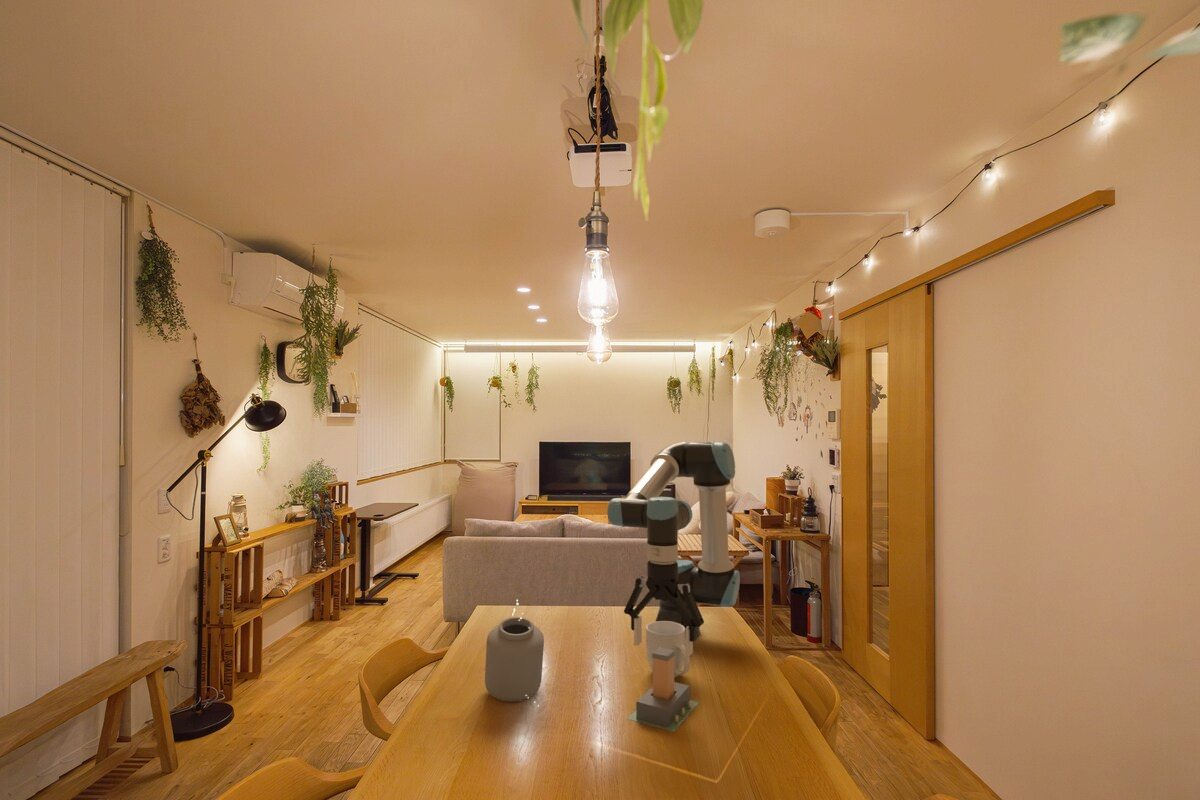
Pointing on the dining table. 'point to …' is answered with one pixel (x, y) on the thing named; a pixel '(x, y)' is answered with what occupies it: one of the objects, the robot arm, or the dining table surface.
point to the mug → (668, 643)
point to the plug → (663, 673)
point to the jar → (514, 659)
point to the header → (664, 708)
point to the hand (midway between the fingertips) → (662, 649)
